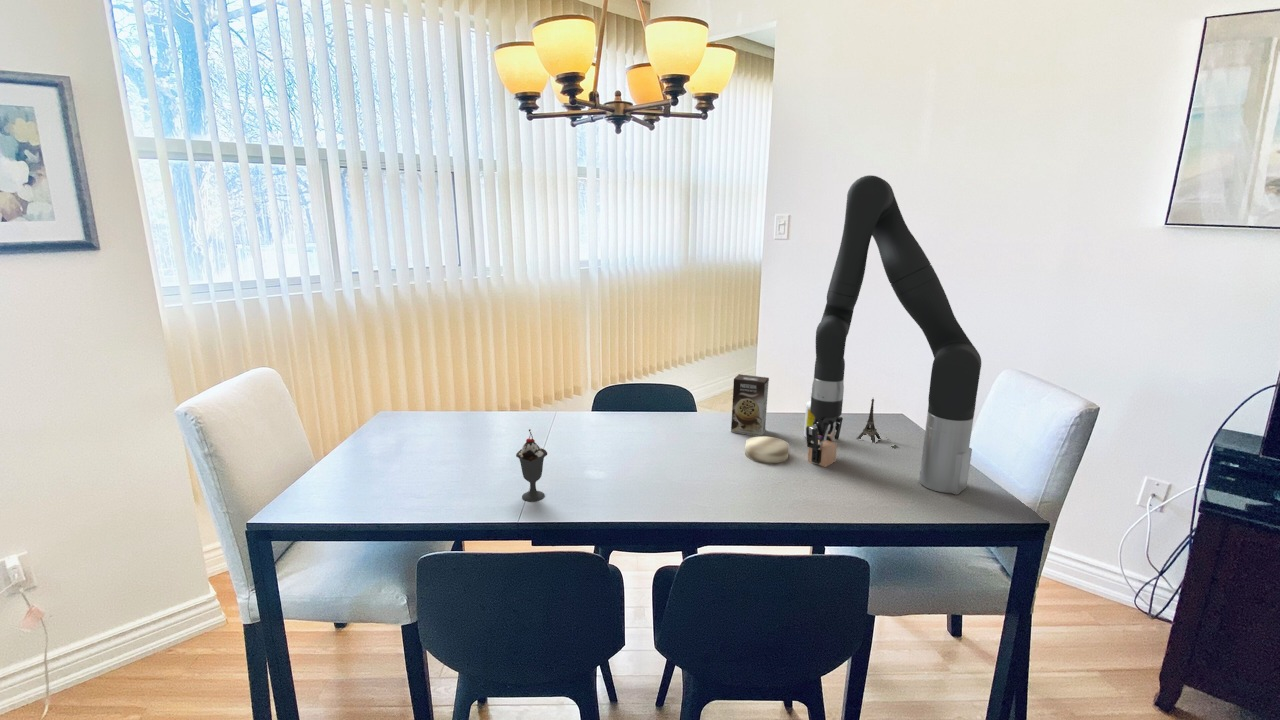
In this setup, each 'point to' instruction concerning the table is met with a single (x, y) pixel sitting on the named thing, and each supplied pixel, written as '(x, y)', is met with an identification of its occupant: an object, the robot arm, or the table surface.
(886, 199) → the robot arm
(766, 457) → the plinth
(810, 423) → the supplement bottle
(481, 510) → the table surface
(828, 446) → the cube
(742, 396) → the coffee box
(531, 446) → the sundae
